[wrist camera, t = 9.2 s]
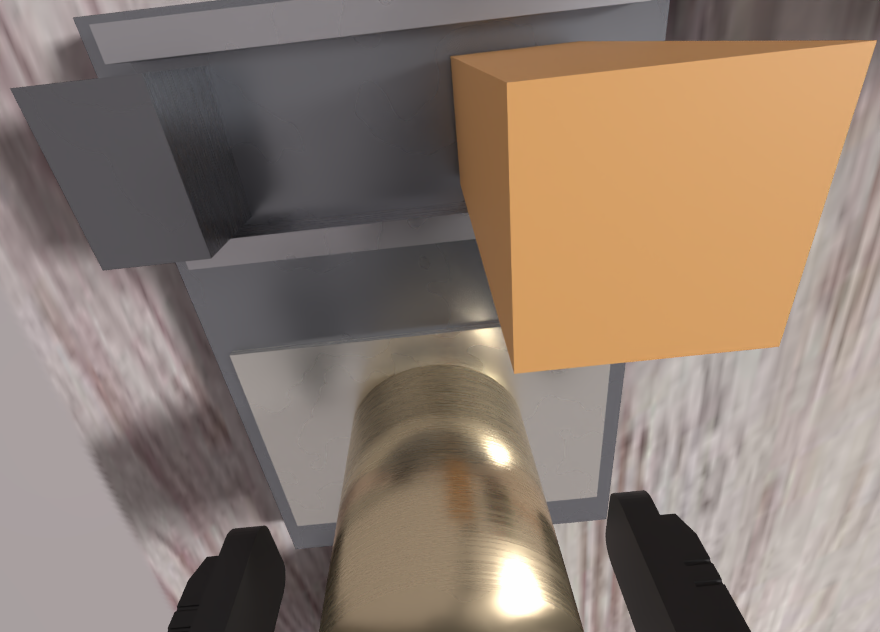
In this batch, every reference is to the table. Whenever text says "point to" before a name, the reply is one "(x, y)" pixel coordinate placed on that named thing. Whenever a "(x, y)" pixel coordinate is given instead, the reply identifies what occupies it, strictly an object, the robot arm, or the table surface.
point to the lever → (649, 189)
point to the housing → (444, 515)
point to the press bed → (321, 213)
